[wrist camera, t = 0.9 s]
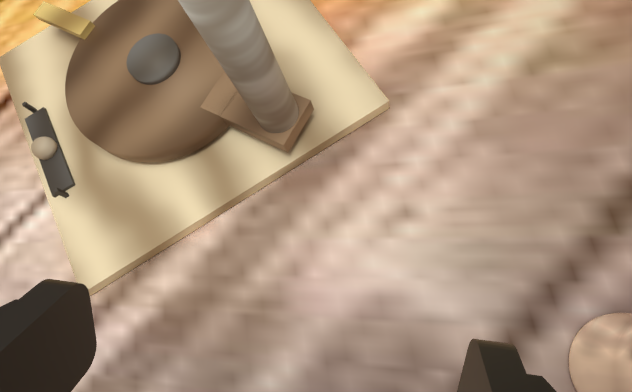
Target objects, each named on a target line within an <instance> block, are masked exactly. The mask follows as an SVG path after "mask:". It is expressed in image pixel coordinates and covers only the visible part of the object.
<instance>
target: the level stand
mask: <svg viewBox="0 0 632 392" xmlns="http://www.w3.org/2000/svg"><path fill="white" fill-rule="evenodd" d="M117 1H118V0H91V1H89V2H88V3H86V4H85V5H83V6H81V7H80V8H78V9H76V10H75V11H73V12H72V13H73V14H75V15H78V16H80V17H82V18H85V19H87V20H89V21H91V22H92V23H93V22H94V21H95V20H96V19H97V18H98V17H99V16H100V15H101V14H102V13H103V12H104V11H105V10H106V9H107V8H109V7H110V6H111V5H112V4H114V3H115V2H117ZM250 3H251V5H252V7H253V9H254V11H255V14H256V16H257V18H258V20H259V22H260V25H261V27H262V29H263V31H264V33H265V36H266V38H267V40H268V42H269V44H270V47H271V49H272V51H273V53H274V55H275V57H276V60H277V62H278V64H279V66H280V68H281V71H282V73H283V75H284V77H285V79H286V82H287V84H288V86H289V88H290V90H291V92H292V93H294V94H297V95H299V96H302V97H304V98H307V99H309V100H311V102H312V105H313V108H314V110H313V112H312V113H311V115H310V117H309V118H308V120H307V122H306V124H305V125H304V127H303V129H302V130H301V132H300V134H299V135H298V137H297V139H296V140H295V142H294V144H293V145H292V147H291V149H290V150H289V152H288V153H287V152H285V151H283V150H281V149H279V148H277V147H274V146H272V145H270V144H268V143H266V142H264V141H261V140H259V139H257V138H255V137H253V136H251V135H248V134H246V133H244V132H242V131H240V130H238V129H235V128H233V127H231V126H229V127H228V128H227V129H226V130H225V131H224V132H223V133H222V134H221V135H219V136H218V137H217V138H216V139H214V140H213V141H212V142H210V143H209V144H207V145H206V146H204V147H202V148H200V149H199V150H197V151H195V152H193V153H191V154H188V155H186V156H183V157H181V158H177V159H173V160H170V161H164V162H158V163H140V162H132V161H128V160H124V159H121V158H118V157H116V156H114V155H112V154H110V153H108V152H107V151H105V150H104V149H102V148H101V147H99V146H98V145H96V144H95V143H93V142H92V141H90V140H89V139H88V138H86V137H85V136H84V135H83V134H82V133H81V132H80V130H79V129H78V128H77V126H76V125H75V124H74V122H73V120H72V118H71V116H70V114H69V110H68V107H67V103H66V97H65V81H66V74H67V70H68V66H69V62H70V59H71V57H72V54H73V52H74V50H75V48H76V46H77V44H78V42H79V40H80V39H81V38H80V37H77V36H75V35H73V34H71V33H68V32H66V31H64V30H62V29H59V28H57V27H55V26H52V25H51V26H49V27H48V28H46V29H44V30H43V31H41V32H39V33H38V34H36V35H35V36H33V37H31V38H30V39H28V40H27V41H25V42H23V43H22V44H20V45H19V46H17V47H15V48H14V49H12V50H11V51H9V52H7V53H6V54H4V55H2V56H1V57H0V66H1V69H2V72H3V75H4V77H5V80H6V83H7V86H8V89H9V92H10V94H11V97H12V100H13V103H14V106H15V109H16V111H17V114H18V117H19V120H20V123H21V125H22V128H23V131H24V134H25V137H26V140H27V142H28V145H29V148H30V151H31V154H32V157H33V159H34V162H35V165H36V168H37V171H38V174H39V176H40V179H41V182H42V185H43V188H44V191H45V193H46V196H47V199H48V202H49V205H50V208H51V210H52V213H53V216H54V219H55V222H56V225H57V227H58V230H59V233H60V236H61V239H62V242H63V244H64V247H65V250H66V253H67V256H68V259H69V261H70V264H71V267H72V270H73V273H74V276H75V278H76V281H77V283H81V284H84V285H85V286H86V287H87V288H88V291H89V295H90V296H91V295H92V294H94V293H96V292H97V291H99V290H100V289H102V288H104V287H105V286H107V285H108V284H110V283H112V282H113V281H115V280H116V279H118V278H120V277H121V276H123V275H124V274H126V273H128V272H129V271H131V270H132V269H134V268H136V267H137V266H139V265H140V264H142V263H144V262H145V261H147V260H148V259H150V258H151V257H153V256H155V255H156V254H158V253H159V252H161V251H163V250H164V249H166V248H167V247H169V246H171V245H172V244H174V243H175V242H177V241H179V240H180V239H182V238H183V237H185V236H187V235H188V234H190V233H191V232H193V231H195V230H196V229H198V228H199V227H201V226H203V225H204V224H206V223H207V222H209V221H210V220H212V219H214V218H215V217H217V216H218V215H220V214H222V213H223V212H225V211H226V210H228V209H230V208H231V207H233V206H234V205H236V204H238V203H239V202H241V201H242V200H244V199H246V198H247V197H249V196H250V195H252V194H254V193H255V192H257V191H258V190H260V189H262V188H263V187H265V186H266V185H268V184H269V183H271V182H273V181H274V180H276V179H277V178H279V177H281V176H282V175H284V174H285V173H287V172H289V171H290V170H292V169H293V168H295V167H297V166H298V165H300V164H301V163H303V162H305V161H306V160H308V159H309V158H311V157H313V156H314V155H316V154H317V153H319V152H321V151H322V150H324V149H325V148H327V147H328V146H330V145H332V144H333V143H335V142H336V141H338V140H340V139H341V138H343V137H344V136H346V135H348V134H349V133H351V132H352V131H354V130H356V129H357V128H359V127H360V126H362V125H364V124H365V123H367V122H368V121H370V120H372V119H373V118H375V117H376V116H378V115H380V114H381V113H383V112H384V111H386V110H387V109H389V108H390V107H389V100H388V99H387V98H386V96H385V95H384V94H383V93H382V91H381V90H380V89H379V88H378V86H377V85H376V84H375V82H374V81H373V80H372V79H371V77H370V76H369V75H368V73H367V72H366V71H365V70H364V68H363V67H362V66H361V65H360V63H359V62H358V61H357V59H356V58H355V57H354V56H353V54H352V53H351V52H350V51H349V49H348V48H347V47H346V45H345V44H344V43H343V42H342V40H341V39H340V38H339V37H338V35H337V34H336V33H335V31H334V30H333V29H332V28H331V26H330V25H329V24H328V22H327V21H326V20H325V19H324V17H323V16H322V15H321V14H320V12H319V11H318V10H317V8H316V7H315V6H314V5H313V3H312V2H311V1H310V0H250Z"/></svg>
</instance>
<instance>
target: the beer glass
mask: <svg viewBox="0 0 632 392" xmlns="http://www.w3.org/2000/svg"><path fill="white" fill-rule="evenodd" d="M569 371H570V376H571V379H572V382H573V385H574V387H575V389H576V391H577V392H632V313H610V314H605V315H602V316H599V317H597V318H594V319H592V320H591V321H589V322H588V323H586V324H585V325H584V326H583V327H582V328H581V329H580V330H579V332H578V333H577V334H576V336H575V338H574V340H573V342H572V344H571V347H570V352H569Z"/></svg>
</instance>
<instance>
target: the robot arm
mask: <svg viewBox="0 0 632 392" xmlns="http://www.w3.org/2000/svg"><path fill="white" fill-rule="evenodd" d="M95 352H96V335H95V328H94V321H93V315H92V308H91V302H90V295H89V291H88V288H87V287H86V286H85V285H84V284H81V283H74V282H67V281H60V280H52V279H46V280H43V281H42V282H40V283H39V284H37V285H36V286H35V287H34V288H32V289H31V290H30V291H29V292H28V293H26V294H25V295H24V296H23V297H21V298H20V299H19V300H14V301H12V302H10V303H8V304H5V305H3V306H1V307H0V392H71V391H72V390H73V388H74V387H75V386H76V385H77V383H78V382H79V381H80V380H81V378H82V377H83V376H84V375H85V373H86V372H87V371H88V369H89V368H90V366H91V364H92V361H93V359H94V356H95ZM457 392H556V391H555V390H554V389H553V387H552V386H551V385H550V384H549V383H548V382H547V381H546V380H545V379H544V378H543V377H542V376H537V375H530V374H526V371H525V369H524V367H523V364H522V362H521V359H520V357H519V354H518V352H517V349H516V348H515V346H514V345H513V344H508V343H500V342H493V341H486V340H479V339H472V340H471V342H470V344H469V347H468V350H467V354H466V358H465V362H464V366H463V370H462V374H461V378H460V382H459V386H458V390H457Z"/></svg>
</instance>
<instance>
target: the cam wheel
mask: <svg viewBox="0 0 632 392" xmlns="http://www.w3.org/2000/svg"><path fill="white" fill-rule="evenodd" d="M33 15H34V16H36V17H37V18H38V19H39V20H41V21H43V22H46V23H48V24H50V25H52V26H55V27H57V28H59V29H62V30H64V31H66V32H68V33H71V34H73V35H75V36H77V37H80V38H81V39H80V40H79V42H78V44H77V46H76V48H75V50H74V52H73V54H72V57H71V59H70V62H69V66H68V70H67V74H66V81H65V97H66V103H67V107H68V110H69V114H70V116H71V118H72V120H73V122H74V124H75V125H76V126H77V128H78V129H79V130H80V132H81V133H82V134H83V135H84V136H85V137H86V138H88V139H89V140H90V141H92V142H93V143H95V144H96V145H98V146H99V147H101V148H102V149H104V150H105V151H107V152H108V153H110V154H112V155H114V156H116V157H118V158H121V159H124V160H128V161H132V162H140V163H158V162H164V161H170V160H173V159H177V158H181V157H183V156H186V155H188V154H191V153H193V152H195V151H197V150H199V149H200V148H202V147H204V146H206V145H207V144H209V143H210V142H212V141H213V140H214V139H216V138H217V137H218V136H219V135H221V134H222V133H223V132H224V131H225V130H226V129H227V128H228V127H229V126H231V127H233V128H235V129H238V130H240V131H242V132H244V133H246V134H248V135H251V136H253V137H255V138H257V139H259V140H261V141H264V142H266V143H268V144H270V145H272V146H274V147H277V148H279V149H281V150H283V151H285V152H287V153H288V152H289V150H290V149H291V147H292V145H293V144H294V142H295V140H296V139H297V137H298V135H299V134H300V132H301V130H302V129H303V127H304V125H305V124H306V122H307V120H308V118H309V117H310V115H311V113H312V112H313V110H314V108H313V105H312V102H311V100H309V99H307V98H304V97H302V96H299V95H297V94H294V93H292V92H291V90H290V88H289V86H288V84H287V82H286V79H285V77H284V75H283V73H282V71H281V68H280V66H279V64H278V62H277V60H276V57H275V55H274V53H273V51H272V49H271V47H270V44H269V42H268V40H267V38H266V36H265V33H264V31H263V29H262V27H261V25H260V22H259V20H258V18H257V16H256V14H255V11H254V9H253V7H252V5H251V3H250V0H118V1H117V2H115V3H114V4H112V5H111V6H110V7H109V8H107V9H106V10H105V11H104V12H103V13H102V14H101V15H100V16H99V17H98V18H97V19H96V20H95V21H94V22H93V23H92V22H91V21H89V20H87V19H85V18H82V17H80V16H78V15H75V14H73V13H70V12H68V11H66V10H63V9H61V8H58V7H56V6H54V5H51V4H49V3H47V2H44V1H43V3H42V4H41V5H40V7H39V8H38V9H37V11H36V12H35V13H34V14H33Z"/></svg>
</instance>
